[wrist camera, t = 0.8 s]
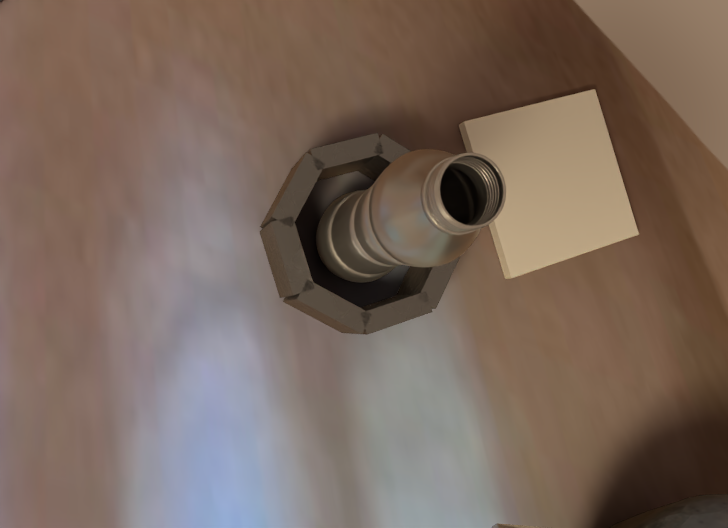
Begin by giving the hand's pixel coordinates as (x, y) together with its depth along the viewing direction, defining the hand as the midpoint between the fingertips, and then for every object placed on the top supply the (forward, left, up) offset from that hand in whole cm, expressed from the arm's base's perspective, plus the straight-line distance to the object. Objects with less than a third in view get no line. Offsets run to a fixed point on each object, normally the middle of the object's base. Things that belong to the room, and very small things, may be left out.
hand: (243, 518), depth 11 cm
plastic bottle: (-5, +15, -37) cm, 40 cm away
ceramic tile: (-5, +33, -36) cm, 49 cm away
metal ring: (-5, +15, -36) cm, 40 cm away
